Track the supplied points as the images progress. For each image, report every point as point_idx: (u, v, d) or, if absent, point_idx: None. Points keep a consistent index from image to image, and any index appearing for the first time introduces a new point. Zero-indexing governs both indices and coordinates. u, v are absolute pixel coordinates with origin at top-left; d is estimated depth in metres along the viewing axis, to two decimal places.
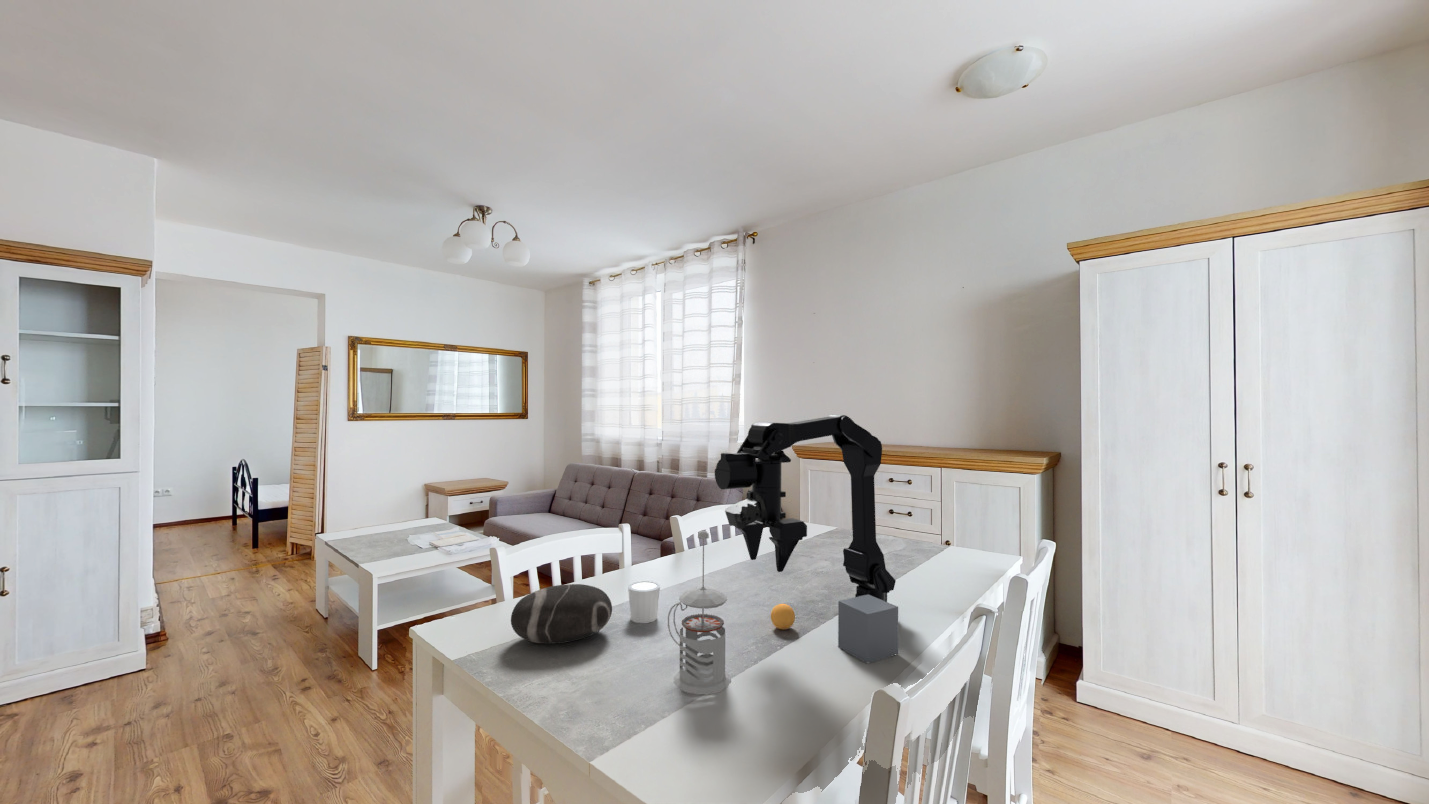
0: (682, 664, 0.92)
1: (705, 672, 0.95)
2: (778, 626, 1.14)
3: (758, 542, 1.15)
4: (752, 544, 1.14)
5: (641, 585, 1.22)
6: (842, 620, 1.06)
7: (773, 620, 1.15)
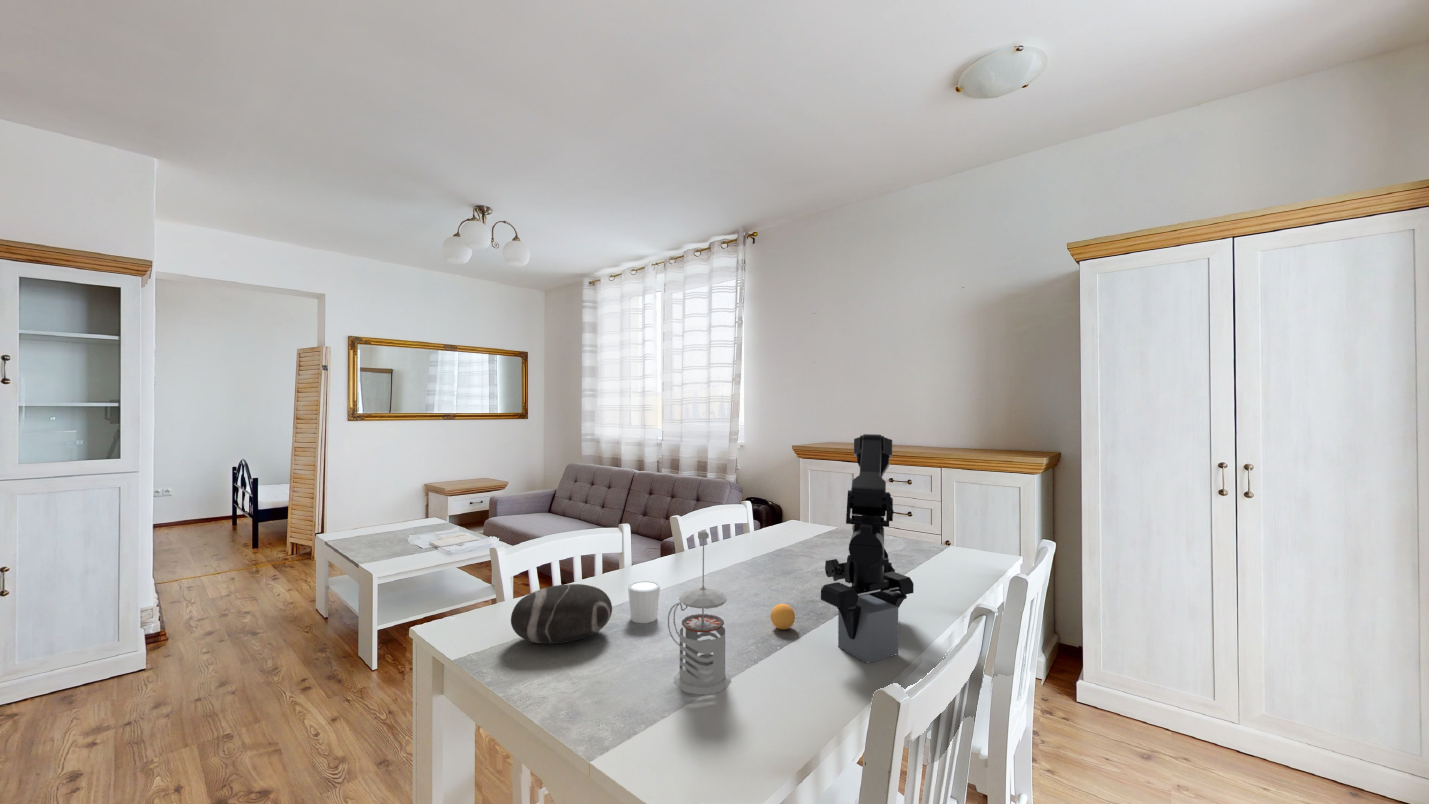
0: (682, 664, 0.92)
1: (705, 672, 0.95)
2: (778, 626, 1.14)
3: None
4: None
5: (641, 585, 1.22)
6: (842, 620, 1.06)
7: (773, 620, 1.15)
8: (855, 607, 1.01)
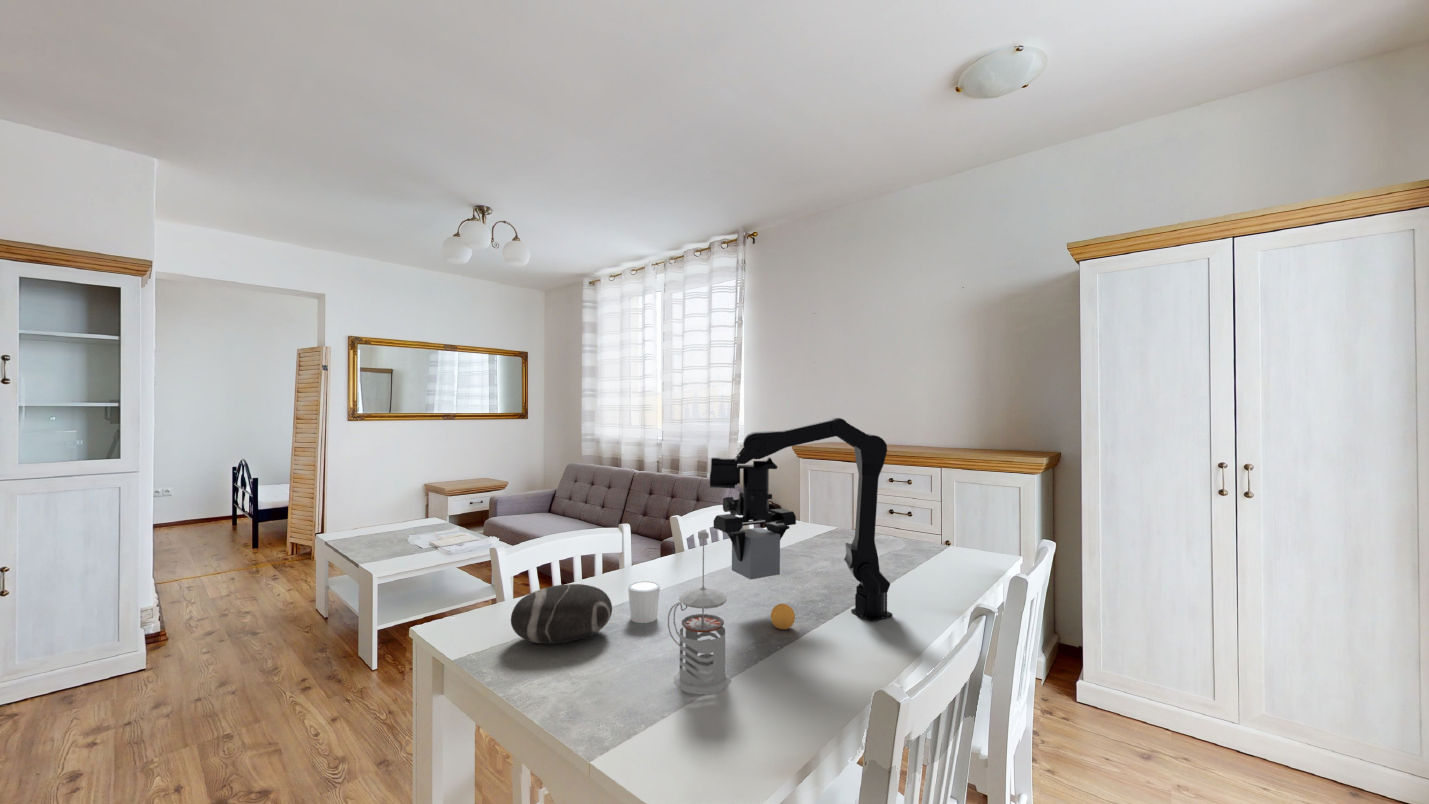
0: (682, 664, 0.92)
1: (705, 672, 0.95)
2: (778, 626, 1.14)
3: None
4: None
5: (641, 585, 1.22)
6: None
7: (773, 620, 1.15)
8: (740, 532, 1.20)
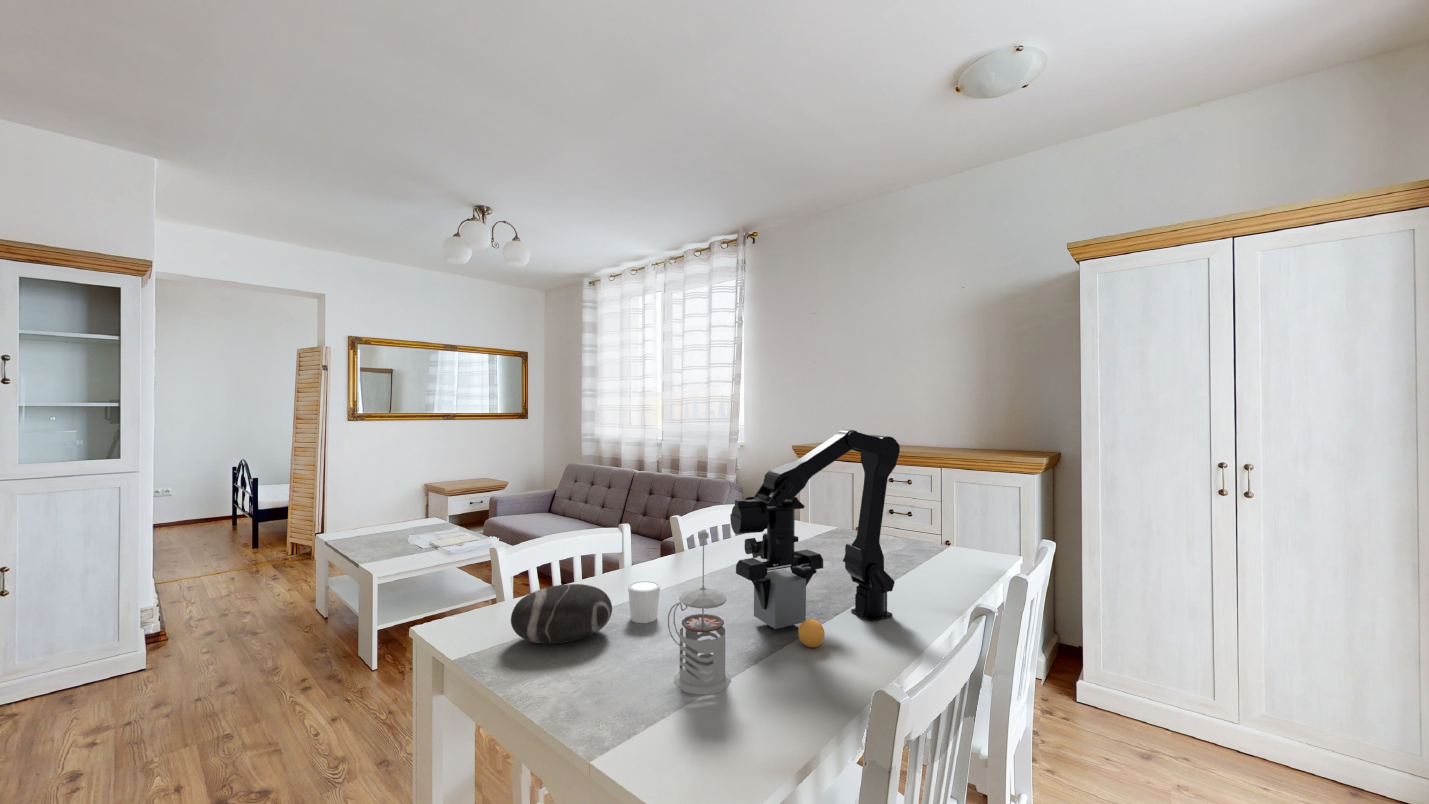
0: (682, 664, 0.92)
1: (705, 672, 0.95)
2: (803, 625, 1.07)
3: None
4: None
5: (641, 585, 1.22)
6: None
7: (801, 633, 1.06)
8: (765, 579, 1.11)
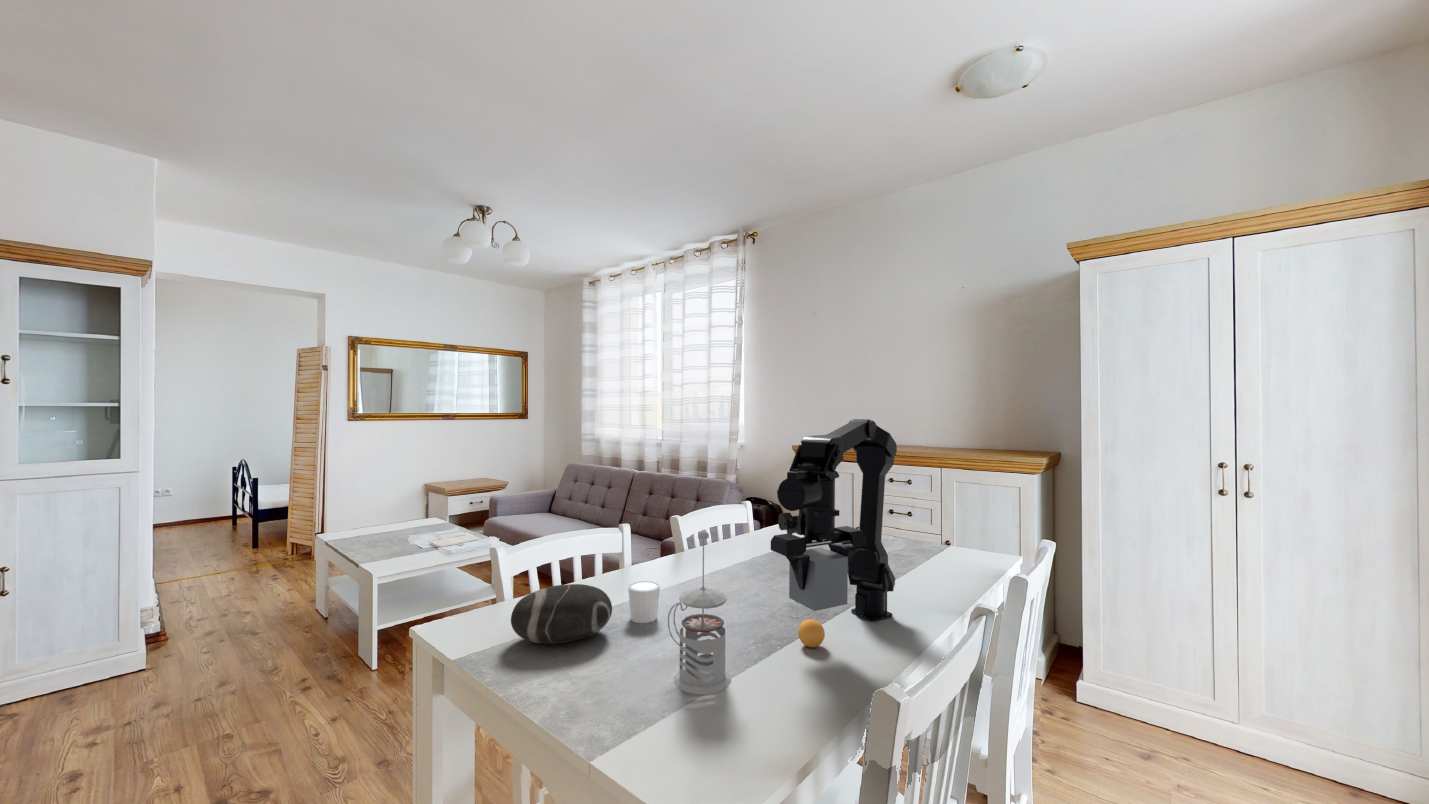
0: (682, 664, 0.92)
1: (705, 672, 0.95)
2: (803, 625, 1.07)
3: None
4: None
5: (641, 585, 1.22)
6: None
7: (801, 633, 1.06)
8: (803, 556, 1.01)
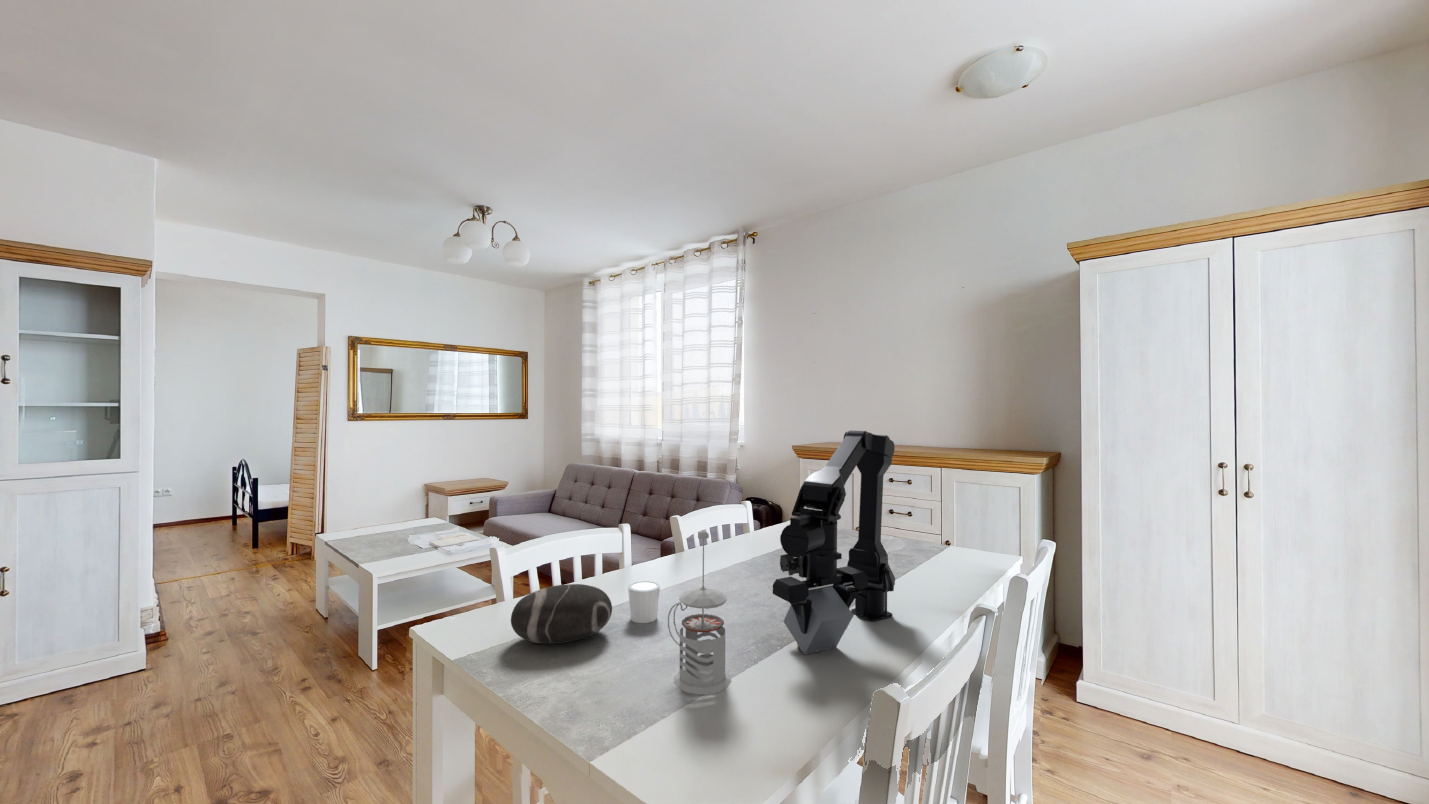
0: (682, 664, 0.92)
1: (705, 672, 0.95)
2: None
3: None
4: None
5: (641, 585, 1.22)
6: None
7: None
8: (806, 601, 1.00)
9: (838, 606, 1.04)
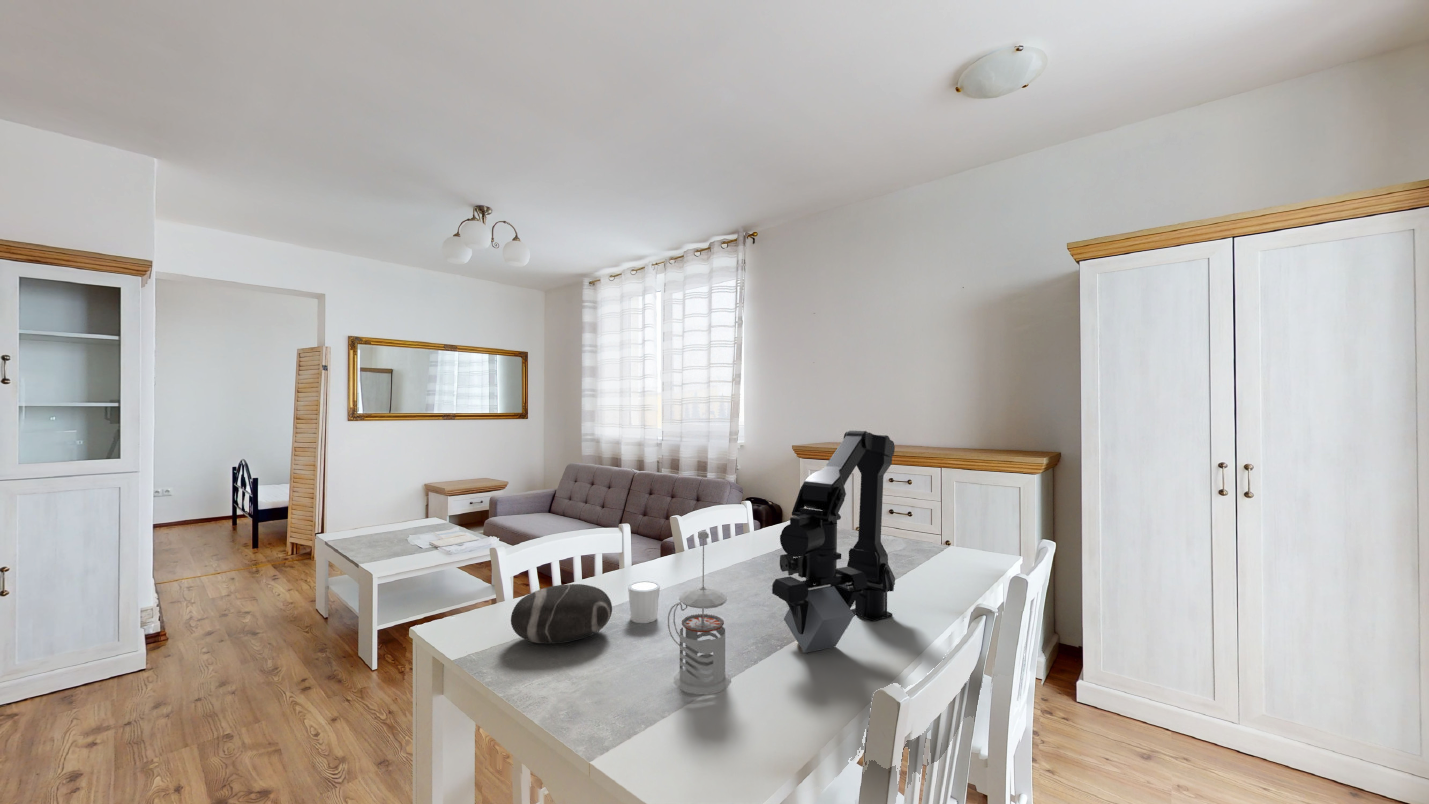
0: (682, 664, 0.92)
1: (705, 672, 0.95)
2: None
3: None
4: None
5: (641, 585, 1.22)
6: None
7: None
8: (803, 602, 1.00)
9: (839, 605, 1.05)
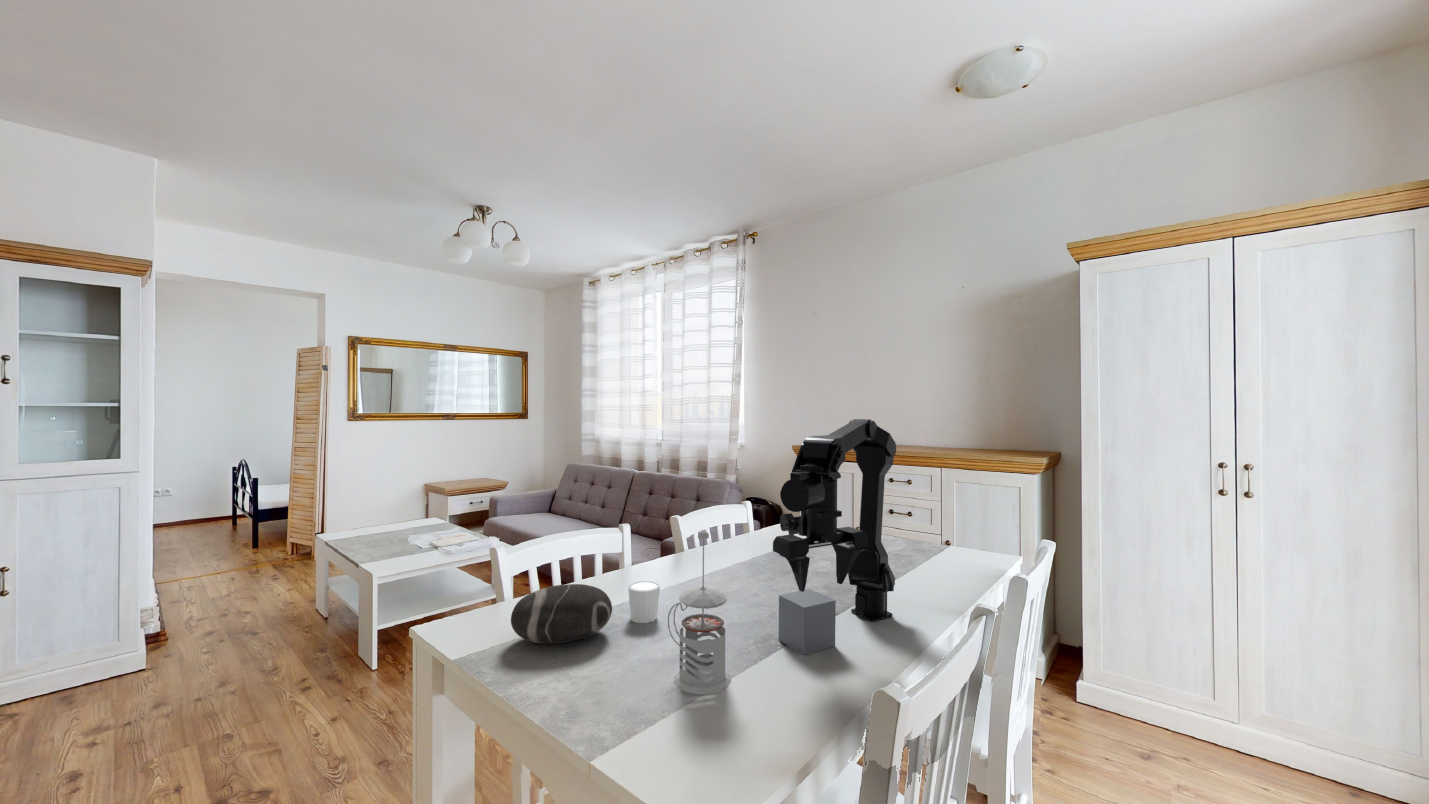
0: (682, 664, 0.92)
1: (705, 672, 0.95)
2: None
3: (844, 567, 1.07)
4: (840, 567, 1.08)
5: (641, 585, 1.22)
6: (782, 614, 1.09)
7: None
8: (803, 558, 1.00)
9: (819, 598, 1.09)
